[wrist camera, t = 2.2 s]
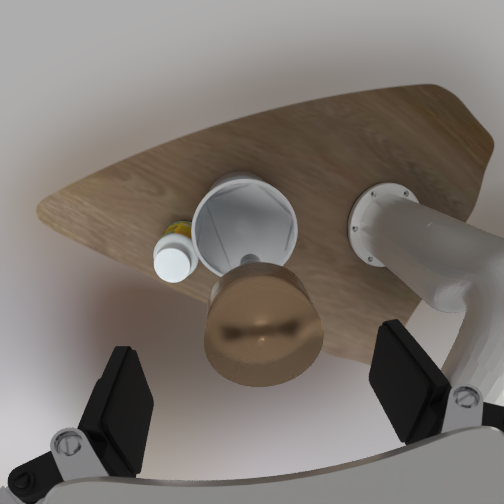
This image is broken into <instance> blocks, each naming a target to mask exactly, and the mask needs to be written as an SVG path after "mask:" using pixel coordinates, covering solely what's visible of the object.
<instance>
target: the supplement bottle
mask: <svg viewBox="0 0 504 504" xmlns="http://www.w3.org/2000/svg"><path fill="white" fill-rule="evenodd" d="M191 228H192V223H191V222H187V221H178V222H175V223H173V224H171V225H170V226H169V227H168V228H167V229H166V231H165V232H164V234H163V235H162V237H161V238H160V240H159V241H158V242H157V244H156V246H155V248H154V254H153V256H154V268H155V271H156V273H157V274H158V276H159V277H160V278H161V279H163V280H165V281H167V282H172V283H175V282H179V281H182V280H183V279H185V278H186V277H187V276H188V275H190V274H191V273H192V272H193V271H194V270H195V268H196V266H197V264H198V261H199V257H198V255H197V253H196V251H195V249H194V246H193V242H192V235H191Z"/></svg>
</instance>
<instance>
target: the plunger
mask: <svg viewBox="0 0 504 504" xmlns="http://www.w3.org/2000/svg"><path fill="white" fill-rule="evenodd" d="M323 338H324V331H323V326H322V323H321V320H320V318H319V316H318V314H317V312H316V310H315V308H314V306H313V304H312V302H311V300H310V298H309V296H308V294H307V292H306V290H305V288H304V286H303V284H302V282H301V281H300V280H299V278H298V277H297V276H296V275H295V274H294V273H292V272H291V271H290V270H288V269H286V268H284V267H283V266H280V265H277V264H273V263H268V262H261V261H260V259H259V257H258V256H256V255H254V254H247V255H245V256H243V257H242V258H241V260H240V266H238V267H236V268H234V269H232V270H230V271H229V272H227V273H226V274H224V275H223V276H222V277H221V278H220V279H219V280H218V281H217V283H216V284H215V285H214V287H213V289H212V291H211V293H210V296H209V300H208V308H207V317H206V327H205V337H204V349H205V353H206V356H207V358H208V361H209V362H210V364H211V365H212V367H213V368H214V369H215V370H216V371H217V372H218V373H219V374H221V375H222V376H223V377H225V378H226V379H228V380H230V381H232V382H235V383H238V384H241V385H245V386H252V387H265V386H274V385H277V384H281V383H284V382H287V381H289V380H291V379H293V378H295V377H297V376H299V375H300V374H302V373H303V372H304V371H305V370H306V369H308V368H309V367H310V366H311V365H312V363H313V362H314V361H315V359H316V358H317V356H318V355H319V352H320V350H321V347H322V344H323Z"/></svg>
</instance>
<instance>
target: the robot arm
mask: <svg viewBox="0 0 504 504" xmlns="http://www.w3.org/2000/svg"><path fill="white" fill-rule="evenodd" d="M371 193H372V195H371ZM353 226H354V228H353ZM352 228H353V229H352ZM347 230H348V238H349V241H350V245H351V247H352V249H353V251H354V252H355V253H356V254H357V256H358V257H359V258H360V259H362V260H363V261H364V262H366V263H367V264H369V265H372V266H376V267H387V268H388V269H389V270H390V271H392V272H393V273H394V274H395V275H396V276H397V277H398V278H399V279H401V280H402V281H403V282H404V283H405V284H406V285H407V286H408V287H409V288H411V289H412V290H413V291H414V292H415V293H416V294H417V295H418V296H419V297H420V298H421V299H423V300H424V301H425V302H426V303H427V304H428V305H430V306H431V307H432V308H434V309H436V310H438V311H441V312H445V313H457V312H463V311H466V314H465V318H464V320H463V323H462V325H461V327H460V330H459V334H458V336H457V338H456V340H455V342H454V344H453V346H452V349H451V350H450V353H449V354H448V356H447V359H446V360H445V362H444V364H443V366H442V368H441V370H440V369H439V368H438V367H437V365H436V364H435V363H434V362H433V361H432V359H431V358H430V357H429V356H428V355H427V353H426V352H425V351H424V350H423V349H422V347H421V346H420V345H419V344H418V343H417V341H416V340H415V339H414V338H413V336H412V335H411V334H410V333H409V332H408V331H407V329H406V328H405V327H404V326H403V325H402V324H401V322H400V321H399V320H398V319H395V320H389V321H385V322H383V324H382V326H379V329H378V334H377V339H376V344H375V349H374V354H373V359H372V364H371V368H370V373H369V382H370V385H371V386H372V388H373V390H374V392H375V393H376V396H377V398H378V399H379V401H380V403H381V405H382V407H383V409H384V411H385V413H386V415H387V416H388V418H389V420H390V422H391V424H392V426H393V428H394V430H395V432H396V434H397V436H398V438H399V439H400V441H401V442H405V444H406V446H403V447H400V448H397V449H394V450H391V451H388V452H385V453H381V454H378V455H375V456H371V457H367V458H364V459H360V460H357V461H352V462H348V463H344V464H340V465H336V466H331V467H326V468H321V469H316V470H311V471H305V472H298V473H293V474H285V475H278V476H269V477H260V478H249V479H235V480H212V481H185V480H157V479H141V478H136V474H139V473H140V472H141V468H142V462H143V457H144V451H145V446H146V441H147V436H148V431H149V426H150V421H151V416H152V411H153V406H154V401H153V397H152V394H151V392H150V389H149V386H148V384H147V381H146V378H145V375H144V373H143V370H142V367H141V364H140V361H139V358H138V355H137V352H136V350H132V349H131V347H130V346H116V347H115V348H114V350H113V352H112V355H111V357H110V359H109V361H108V363H107V366H106V368H105V370H104V372H103V375H102V377H101V378H100V379H98V381H97V382H96V385H95V387H94V389H93V391H92V394H91V396H90V398H89V401H88V403H87V406H86V408H85V410H84V413H83V415H82V418H81V420H80V423H79V426H78V428H77V429H76V428H65V429H62V430H60V431H58V432H57V433H56V434H55V435H54V436H53V438H52V440H51V443H50V447H51V451H49V452H47V453H45V454H43V455H41V456H39V457H37V458H35V459H33V460H31V461H29V462H27V463H25V464H23V465H20V466H18V467H16V468H15V469H13V470H12V472H11V473H10V474H9V477H8V487H6V488H5V487H4V486H2V487H1V488H0V504H504V238H502V237H498V236H496V235H493V234H490V233H488V232H485V231H483V230H481V229H478V228H476V227H474V226H471V225H469V224H467V223H465V222H462V221H460V220H458V219H455V218H453V217H451V216H448V215H446V214H444V213H441V212H439V211H437V210H434V209H432V208H429V207H427V206H424V205H422V204H419V201H418V200H417V198H416V197H415V195H414V194H413V193H412V192H411V191H410V190H409V189H407V188H406V187H404V186H402V185H399V184H396V183H380V184H376V185H374V186H372V187H370V188H369V189H367V190H366V191H365V192H363V193H362V194H361V196H360V197H359V198H358V199H357V201H356V202H355V204H354V205H353V207H352V210H351V212H350V215H349V219H348V229H347Z"/></svg>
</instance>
